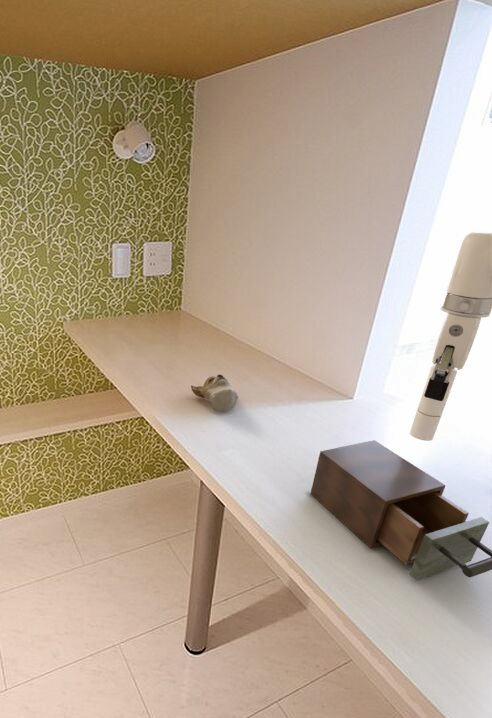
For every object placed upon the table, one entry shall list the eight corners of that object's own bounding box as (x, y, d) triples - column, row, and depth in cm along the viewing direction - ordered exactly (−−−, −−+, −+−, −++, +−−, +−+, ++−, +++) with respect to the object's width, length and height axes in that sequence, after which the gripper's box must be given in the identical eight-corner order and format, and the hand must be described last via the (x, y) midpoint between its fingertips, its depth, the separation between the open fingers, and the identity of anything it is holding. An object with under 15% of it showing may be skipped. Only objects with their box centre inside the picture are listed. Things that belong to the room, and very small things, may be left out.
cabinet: (427, 531, 74) (445, 485, 70) (370, 548, 70) (385, 501, 66) (362, 481, 86) (374, 439, 82) (310, 493, 82) (320, 451, 78)
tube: (432, 442, 88) (457, 375, 82) (408, 436, 91) (431, 370, 84) (433, 434, 92) (457, 368, 85) (410, 428, 94) (431, 363, 87)
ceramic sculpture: (210, 385, 105) (190, 366, 118) (208, 418, 108) (188, 395, 122) (251, 382, 107) (226, 364, 121) (247, 414, 111) (223, 392, 124)
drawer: (504, 586, 63) (526, 545, 59) (447, 608, 59) (466, 566, 56) (398, 506, 78) (410, 470, 75) (347, 519, 75) (358, 483, 71)
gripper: (487, 317, 71) (450, 415, 79) (496, 300, 83) (463, 387, 91) (434, 309, 75) (405, 402, 83) (450, 293, 87) (422, 377, 95)
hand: (435, 393), depth 87 cm, fingers closed on tube, 4 cm apart
